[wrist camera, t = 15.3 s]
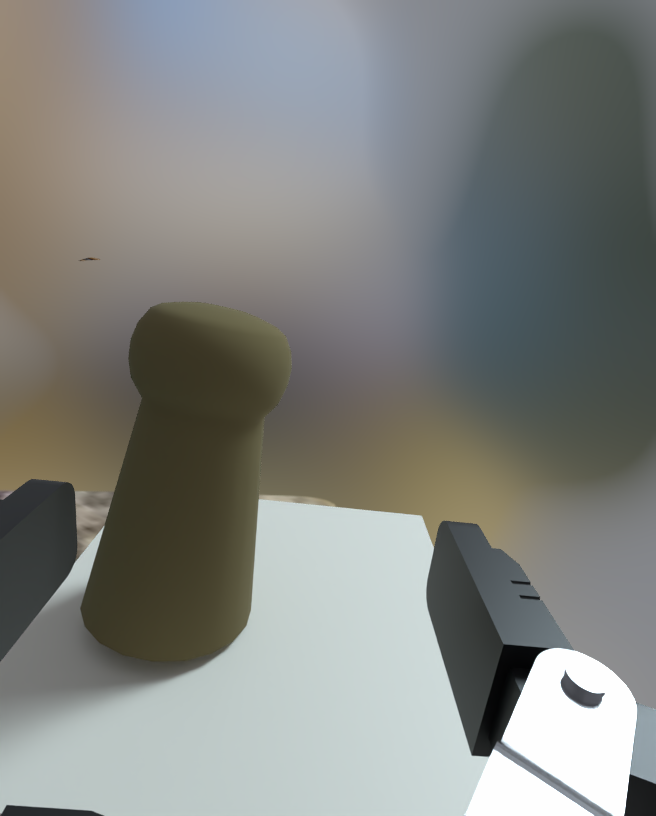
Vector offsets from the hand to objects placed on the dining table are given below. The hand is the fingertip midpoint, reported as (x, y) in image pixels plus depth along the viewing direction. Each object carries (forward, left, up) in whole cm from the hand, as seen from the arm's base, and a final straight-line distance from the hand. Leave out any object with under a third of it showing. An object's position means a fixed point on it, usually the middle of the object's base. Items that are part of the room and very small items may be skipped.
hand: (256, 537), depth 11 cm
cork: (-3, +6, -7) cm, 10 cm away
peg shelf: (0, +7, -11) cm, 13 cm away
